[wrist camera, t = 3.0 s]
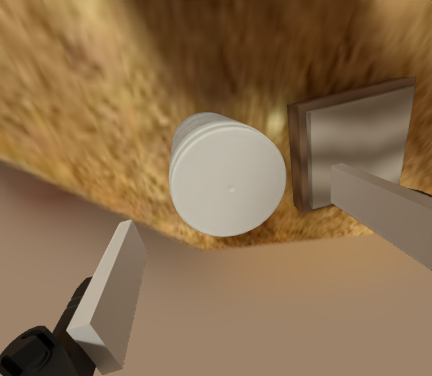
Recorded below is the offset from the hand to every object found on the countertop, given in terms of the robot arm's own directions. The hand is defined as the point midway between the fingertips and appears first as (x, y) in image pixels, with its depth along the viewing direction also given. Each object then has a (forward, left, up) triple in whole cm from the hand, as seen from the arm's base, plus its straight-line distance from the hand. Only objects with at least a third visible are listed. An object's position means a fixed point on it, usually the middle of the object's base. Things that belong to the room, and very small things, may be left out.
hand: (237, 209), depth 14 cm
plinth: (+5, +20, -18) cm, 27 cm away
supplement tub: (0, 0, -18) cm, 18 cm away
